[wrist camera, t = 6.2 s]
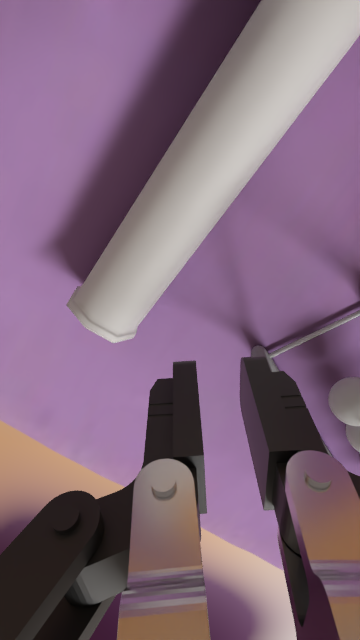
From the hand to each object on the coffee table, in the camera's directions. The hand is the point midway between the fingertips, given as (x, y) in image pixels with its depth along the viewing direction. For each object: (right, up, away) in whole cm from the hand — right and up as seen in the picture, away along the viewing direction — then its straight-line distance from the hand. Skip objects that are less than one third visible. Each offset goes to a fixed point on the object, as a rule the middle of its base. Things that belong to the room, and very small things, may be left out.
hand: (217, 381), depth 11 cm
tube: (+1, +12, +11) cm, 16 cm away
